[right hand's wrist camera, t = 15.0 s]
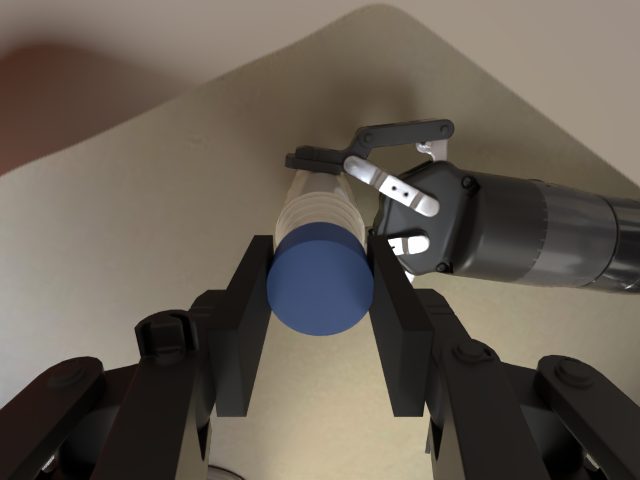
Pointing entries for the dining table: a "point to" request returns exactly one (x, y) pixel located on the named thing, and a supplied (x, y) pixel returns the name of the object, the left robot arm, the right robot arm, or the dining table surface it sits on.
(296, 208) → the bottle
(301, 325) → the cap
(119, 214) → the dining table surface
